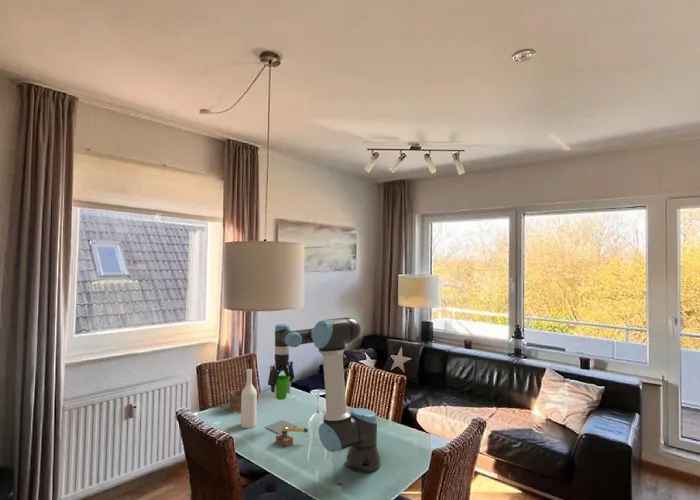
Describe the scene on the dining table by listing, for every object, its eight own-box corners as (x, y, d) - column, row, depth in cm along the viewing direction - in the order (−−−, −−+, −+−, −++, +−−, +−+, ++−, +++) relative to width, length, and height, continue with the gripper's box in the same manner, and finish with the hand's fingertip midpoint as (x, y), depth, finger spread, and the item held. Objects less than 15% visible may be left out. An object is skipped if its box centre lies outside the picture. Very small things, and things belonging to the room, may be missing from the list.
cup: (286, 401, 204) (286, 380, 204) (269, 400, 206) (270, 379, 206) (292, 395, 213) (292, 375, 213) (276, 394, 214) (276, 374, 215)
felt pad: (296, 426, 209) (296, 426, 209) (279, 434, 200) (279, 433, 200) (282, 420, 217) (282, 419, 217) (264, 427, 208) (264, 426, 208)
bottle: (245, 429, 205) (246, 372, 206) (238, 424, 211) (239, 369, 212) (259, 425, 211) (259, 369, 211) (252, 420, 217) (252, 366, 217)
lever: (281, 432, 191) (281, 428, 191) (282, 430, 194) (282, 425, 194) (307, 433, 190) (307, 429, 190) (308, 431, 193) (308, 426, 193)
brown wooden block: (293, 443, 190) (293, 434, 190) (286, 446, 187) (286, 437, 187) (282, 438, 196) (282, 429, 196) (276, 441, 192) (276, 432, 193)
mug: (256, 413, 227) (256, 392, 227) (225, 412, 227) (226, 392, 228) (260, 405, 239) (261, 385, 239) (232, 405, 239) (232, 385, 239)
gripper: (292, 348, 220) (292, 388, 220) (260, 355, 204) (260, 399, 203) (301, 350, 215) (301, 391, 215) (269, 358, 199) (269, 402, 198)
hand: (281, 395), depth 209 cm, fingers closed on cup, 9 cm apart
